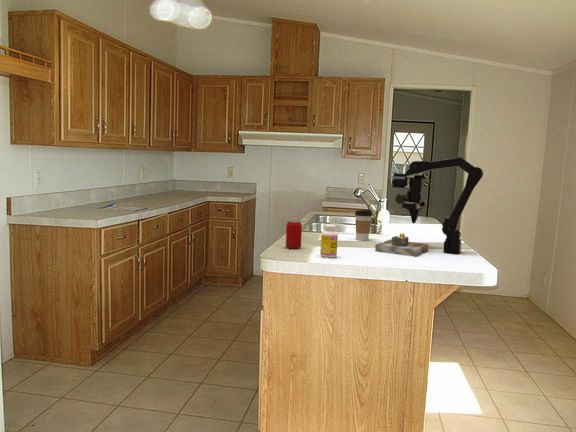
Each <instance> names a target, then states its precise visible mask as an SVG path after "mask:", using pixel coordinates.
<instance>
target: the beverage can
mask: <svg viewBox="0 0 576 432" xmlns="http://www.w3.org/2000/svg"><path fill="white" fill-rule="evenodd" d="M302 225H303V224H302V222H301V220H297V219H289V220H288V221H287V222H286V229H285V232H286V233H285V246H286V247H287V248H288V249H289V248H291V249H290V250H298V249H299V248H301V247H302V235H303V233H302V232H303V230H302V227H303V226H302Z"/></svg>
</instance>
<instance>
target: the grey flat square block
mask: <svg viewBox="0 0 576 432" xmlns="http://www.w3.org/2000/svg"><path fill="white" fill-rule="evenodd" d="M397 237H399V236H398V235H395V236H392V237H391V239H388V240H385V241H381V242H379V243H376V244H375V249H374V251H375V252H377V253H384V254H385V253H386V254H394V255H400V256H409V257H418V256H420V255H422V254H425V253H426V252H428V251H429V243H421V242H411V241H409V239H410V238H409V236H406V238H397Z"/></svg>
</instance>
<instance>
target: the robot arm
mask: <svg viewBox="0 0 576 432" xmlns="http://www.w3.org/2000/svg"><path fill="white" fill-rule="evenodd" d="M453 167H459V168H460V169H462V170H463V171H464V172H466V174H467V177H466V182H465V185H464V187H463V190H462V192H461V194H460V196H459V198H458V201H457V202H456V204H455V206H454V208H453V211H452V212H451V215H450V216H448V215H447V216H445V217H444V220H443V223H442V224H441V231H442V234H443V235H445V237H446V238H445V240H444V241H443V248H442V249H443V253H447V254H454V255H460V254H461V253H462V238H461V236H462V232H461V231H459V230H458V227H459V223H460V217H461V215H462V214H463V211H464V210H465V207H466V206H467V203H468V201H469V200H470V197H471V195H472V193H473V191H474V189H475V188H476V186H477V185H478V183H480V181H481V180H482V178H483V177H484V171H483V169H482V168H481V167H479V166H474V165H472V164H471V163H470V162H468V161H467V160H466V159H465V158H463V157H462V156H458V157H455V158H447V159H440V160H439V159H438V160H432V161H430V160H429V161H426V160H414V161H412V162H410V164H409V167H408V169H407V170H406V172H405V173H395V172H394V173H393V176H392V180H391V186H392V189H406V187H408V190H407V191H406V194H401V193H399V194H398V193H397V194H396V196H395V199H394V200H395V202H396V205H399V204H401V208H402V209H406V210H407V211H408V212H409V214H410V215H409V216H410V218H411V222H412V224H416V222H417V220H418V219H419V216H420V214H421V212H422V211H423V209H424V207H427V205H428V204H427V201H426V200H425V199H424V200H423V198H422V197H423V194H424V191H423V180H427V179H428V177H427V176H426V174H425V173H426V172H429V171H432V170H438V169H445V168H446V169H447V168H453ZM419 174H420V175H419ZM412 176H413V177H412Z"/></svg>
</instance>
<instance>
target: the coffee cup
mask: <svg viewBox="0 0 576 432" xmlns="http://www.w3.org/2000/svg"><path fill="white" fill-rule="evenodd" d="M372 212H373V211H372V210H371V209H359V210H358V209H357V210H355V213H354V216H355V238H356V239H355V240H356V241H360V242H368V241H369V237H370V231H371V230H370V229H371V223H372V217H373V213H372Z"/></svg>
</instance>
